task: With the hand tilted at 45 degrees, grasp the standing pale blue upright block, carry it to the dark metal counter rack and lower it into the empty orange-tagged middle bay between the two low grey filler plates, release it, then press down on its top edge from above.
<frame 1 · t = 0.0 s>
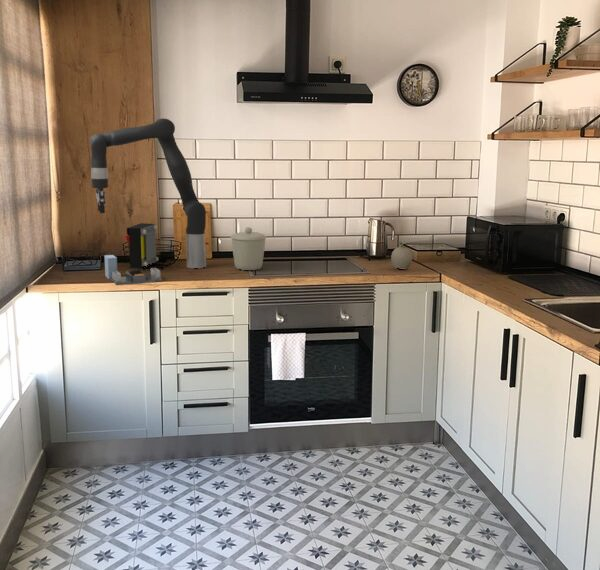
hand: (101, 212, 332), 29 cm above the worktop, tool pointing down, fingers open, 8 cm apart
rack: (136, 280, 323), on the worktop
electrical component: (143, 265, 359), on the worktop
pale blue upright block: (111, 277, 328), on the worktop
canister: (248, 269, 352), on the worktop
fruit: (400, 269, 358), on the worktop
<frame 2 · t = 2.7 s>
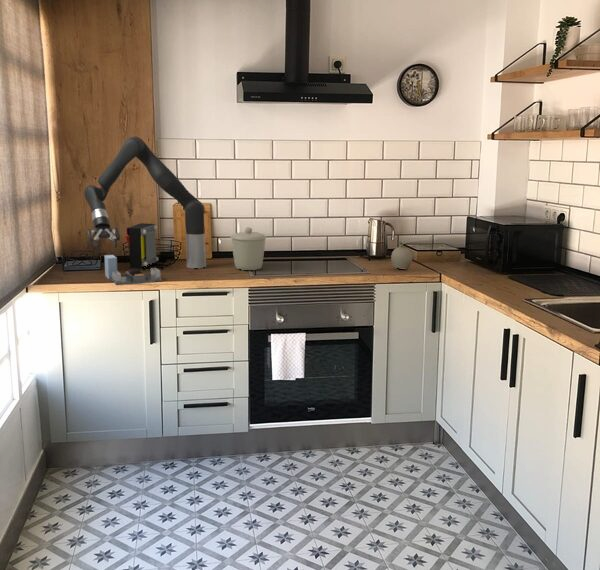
hand: (106, 247, 333), 13 cm above the worktop, tool tilted 45°, fingers open, 8 cm apart
nothing on the worktop moved.
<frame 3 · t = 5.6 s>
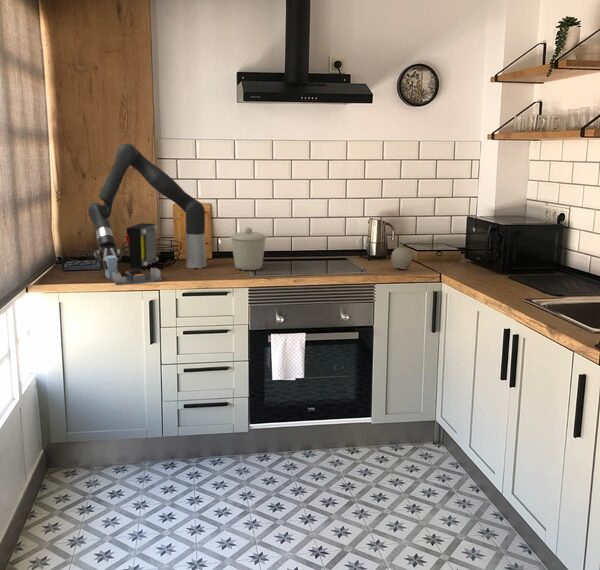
hand: (111, 268, 325), 5 cm above the worktop, tool tilted 45°, fingers closed on pale blue upright block, 4 cm apart
pale blue upright block: (111, 277, 328), on the worktop, touching gripper
everything else where it was.
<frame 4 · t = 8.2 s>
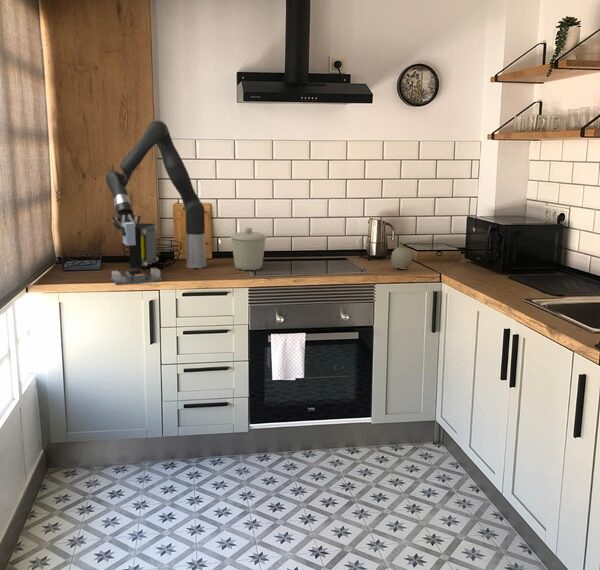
hand: (129, 234, 327), 20 cm above the worktop, tool tilted 45°, fingers closed on pale blue upright block, 4 cm apart
pale blue upright block: (129, 243, 330), point 15 cm above the worktop, touching gripper
everything else where it was.
when the fingers open (7 cm above the worktop, at t = 11.2 s): pale blue upright block drops 1 cm, resting on rack.
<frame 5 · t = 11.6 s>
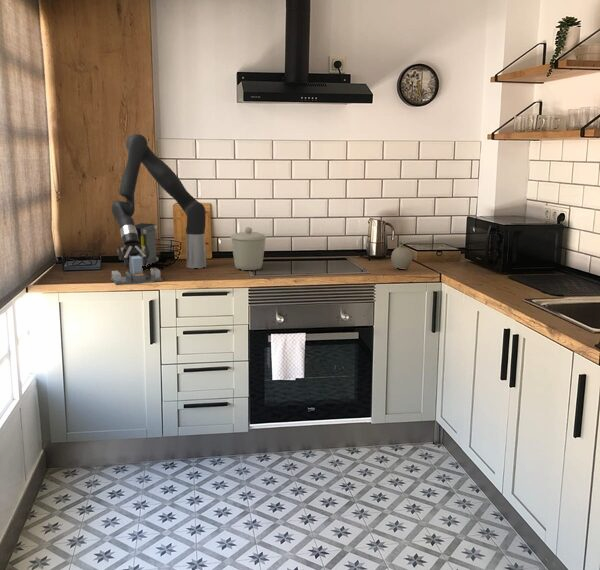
hand: (136, 265, 320), 7 cm above the worktop, tool tilted 45°, fingers open, 7 cm apart
pale blue upright block: (136, 278, 323), point 1 cm above the worktop, touching rack
everything else where it was.
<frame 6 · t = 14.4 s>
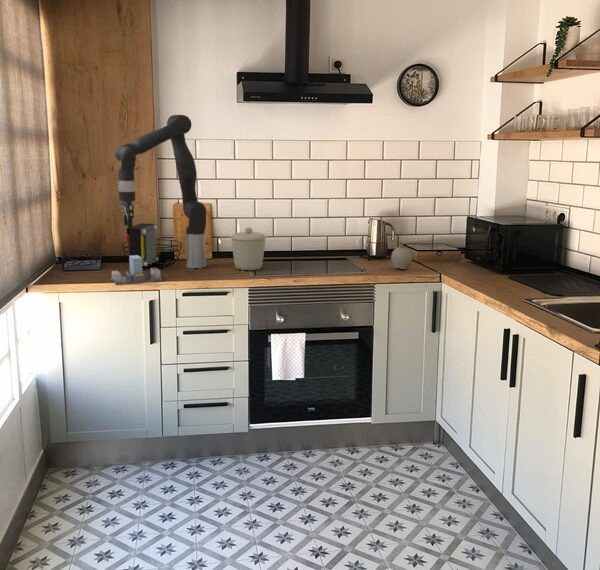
hand: (128, 226, 328), 24 cm above the worktop, tool pointing down, fingers open, 6 cm apart
nothing on the worktop moved.
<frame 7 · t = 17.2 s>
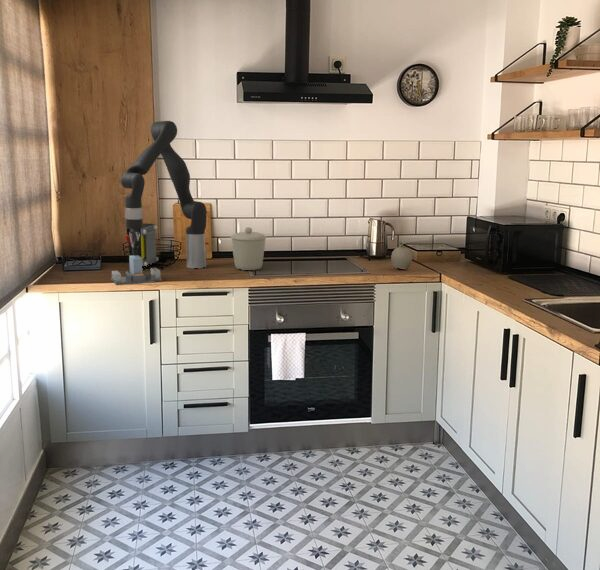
hand: (135, 255, 320), 12 cm above the worktop, tool pointing down, fingers closed
nothing on the worktop moved.
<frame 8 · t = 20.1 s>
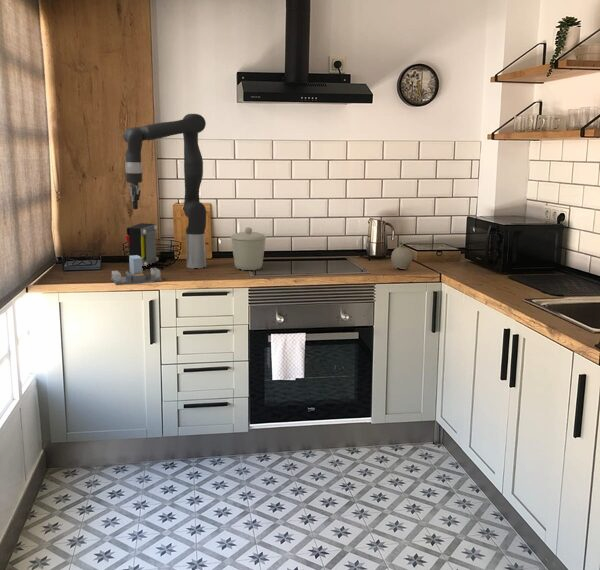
hand: (135, 209, 331), 31 cm above the worktop, tool pointing down, fingers closed
nothing on the worktop moved.
at the end: pale blue upright block 0.1 cm off-centre on the rack, point 1.0 cm above the rack's base; pale blue upright block tilted 0°; the gripper is holding nothing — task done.
